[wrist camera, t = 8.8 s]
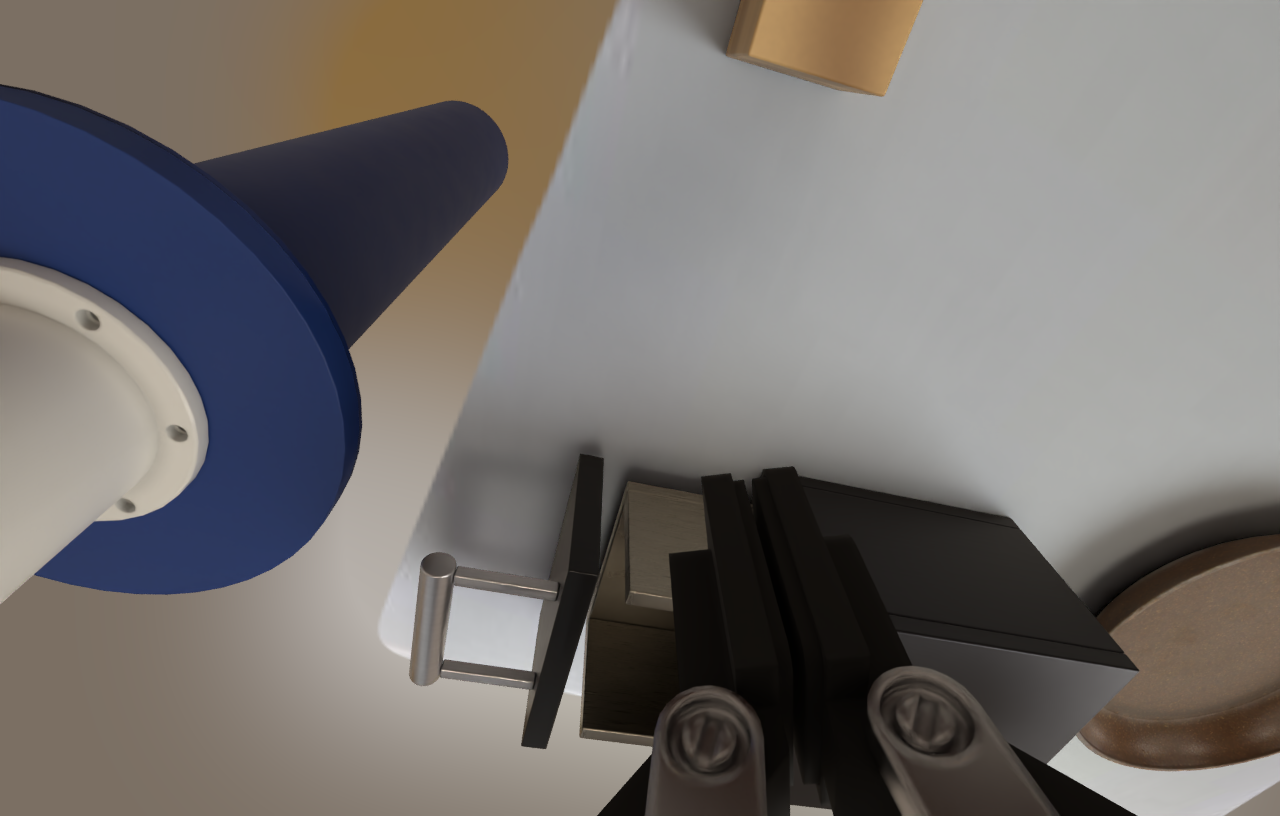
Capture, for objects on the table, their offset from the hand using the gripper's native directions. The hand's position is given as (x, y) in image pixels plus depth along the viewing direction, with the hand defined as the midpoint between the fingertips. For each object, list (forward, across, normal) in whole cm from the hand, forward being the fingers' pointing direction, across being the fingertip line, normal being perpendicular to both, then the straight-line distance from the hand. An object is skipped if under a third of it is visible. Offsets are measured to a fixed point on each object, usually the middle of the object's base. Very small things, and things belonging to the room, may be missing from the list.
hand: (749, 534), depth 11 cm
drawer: (+16, +4, +15) cm, 23 cm away
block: (+17, -5, -9) cm, 20 cm away
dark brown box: (+17, -8, +20) cm, 28 cm away
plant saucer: (+18, -31, +29) cm, 46 cm away
